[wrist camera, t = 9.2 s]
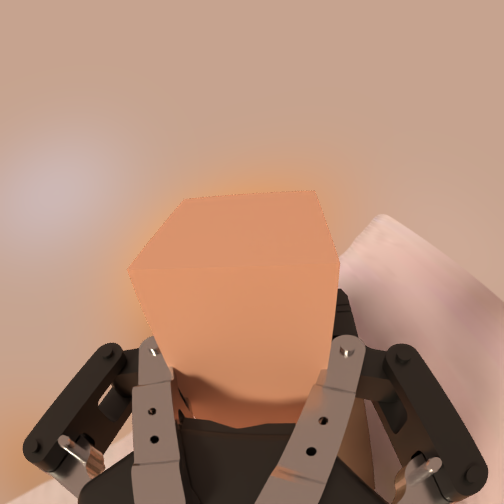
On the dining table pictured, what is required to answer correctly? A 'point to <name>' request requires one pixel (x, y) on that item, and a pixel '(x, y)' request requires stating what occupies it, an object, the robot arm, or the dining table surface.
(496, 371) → the dining table surface
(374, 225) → the dining table surface
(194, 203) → the terracotta block
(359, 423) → the walnut block
